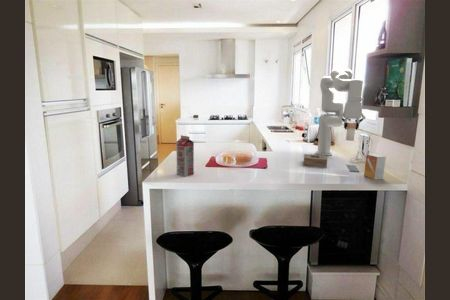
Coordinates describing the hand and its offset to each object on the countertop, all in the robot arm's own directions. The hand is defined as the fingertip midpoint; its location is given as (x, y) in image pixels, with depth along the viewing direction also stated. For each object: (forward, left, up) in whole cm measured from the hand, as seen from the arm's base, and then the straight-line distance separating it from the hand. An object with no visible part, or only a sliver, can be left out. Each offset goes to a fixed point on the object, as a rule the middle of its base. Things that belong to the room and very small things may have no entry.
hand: (350, 129), depth 179 cm
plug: (0, 0, -7) cm, 7 cm away
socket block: (0, -20, -25) cm, 32 cm away
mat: (0, 0, -25) cm, 25 cm away
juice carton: (+49, -91, -26) cm, 106 cm away
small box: (+17, +12, -26) cm, 33 cm away
